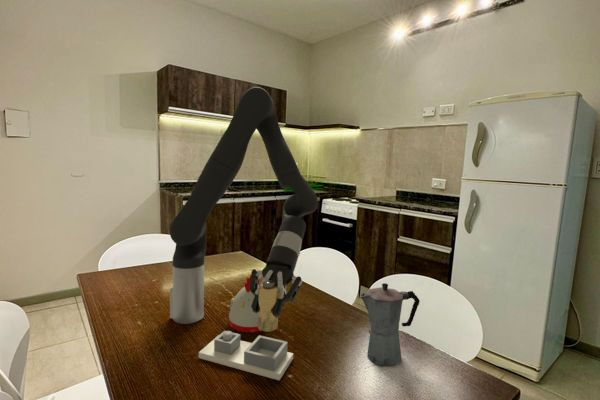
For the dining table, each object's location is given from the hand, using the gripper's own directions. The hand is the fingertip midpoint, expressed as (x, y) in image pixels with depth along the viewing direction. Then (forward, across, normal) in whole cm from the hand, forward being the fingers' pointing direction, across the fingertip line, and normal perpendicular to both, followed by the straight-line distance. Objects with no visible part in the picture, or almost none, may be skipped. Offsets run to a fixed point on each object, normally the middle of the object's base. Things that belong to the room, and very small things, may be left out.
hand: (264, 313), depth 78 cm
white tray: (+9, -6, +11) cm, 15 cm away
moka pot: (-2, +27, +22) cm, 35 cm away
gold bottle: (+2, 0, +4) cm, 5 cm away
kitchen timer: (-4, -14, +24) cm, 28 cm away
